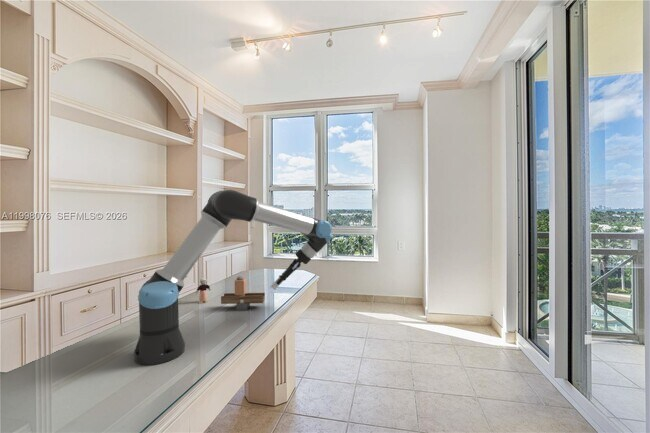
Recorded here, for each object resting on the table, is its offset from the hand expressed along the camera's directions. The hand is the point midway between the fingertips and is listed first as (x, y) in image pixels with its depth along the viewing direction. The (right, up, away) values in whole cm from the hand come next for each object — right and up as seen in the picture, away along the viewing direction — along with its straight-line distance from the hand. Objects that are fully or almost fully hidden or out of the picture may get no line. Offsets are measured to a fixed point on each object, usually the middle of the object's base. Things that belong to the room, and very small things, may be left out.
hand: (272, 287), depth 150 cm
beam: (-14, -10, 0) cm, 17 cm away
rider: (-16, -4, -1) cm, 16 cm away
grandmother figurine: (-38, -10, +9) cm, 40 cm away
